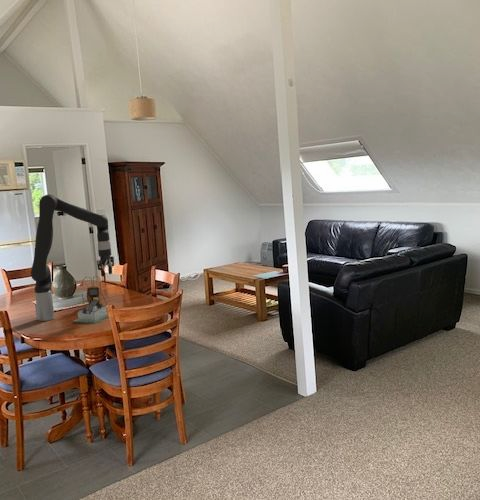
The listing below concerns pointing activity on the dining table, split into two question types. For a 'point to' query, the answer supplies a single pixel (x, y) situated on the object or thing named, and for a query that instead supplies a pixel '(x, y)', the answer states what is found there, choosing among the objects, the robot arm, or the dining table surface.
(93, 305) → the lever
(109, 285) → the dining table surface
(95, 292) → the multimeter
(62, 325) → the dining table surface
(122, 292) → the dining table surface
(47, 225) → the robot arm
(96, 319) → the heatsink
